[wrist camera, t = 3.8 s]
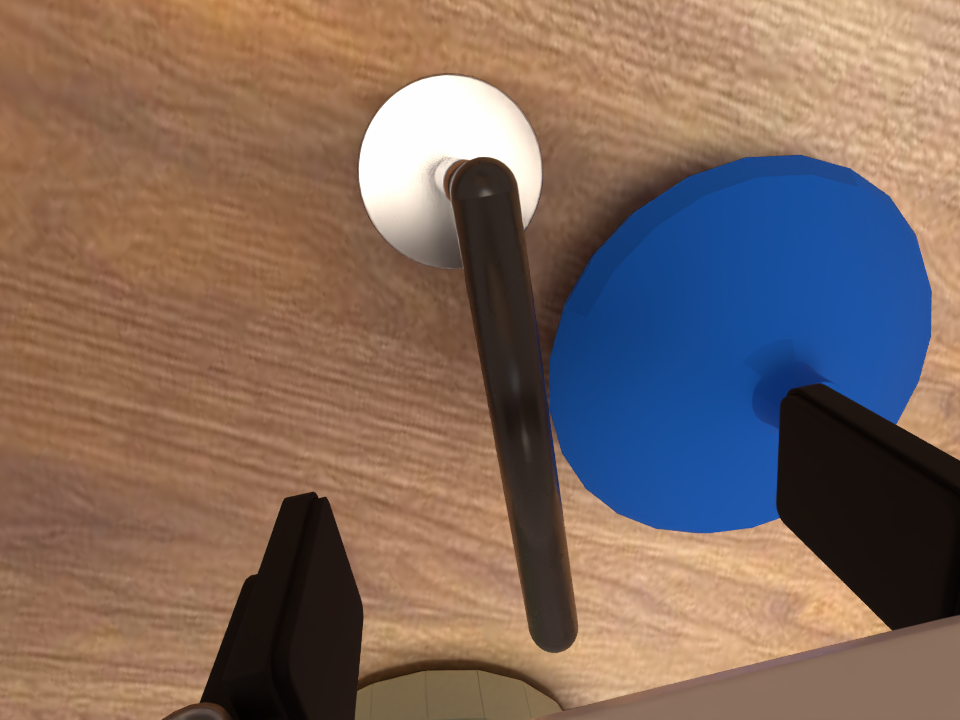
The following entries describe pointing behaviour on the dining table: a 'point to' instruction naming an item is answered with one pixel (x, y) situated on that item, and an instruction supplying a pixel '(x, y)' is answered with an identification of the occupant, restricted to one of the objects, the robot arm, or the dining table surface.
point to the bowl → (452, 698)
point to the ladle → (482, 290)
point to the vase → (732, 335)
